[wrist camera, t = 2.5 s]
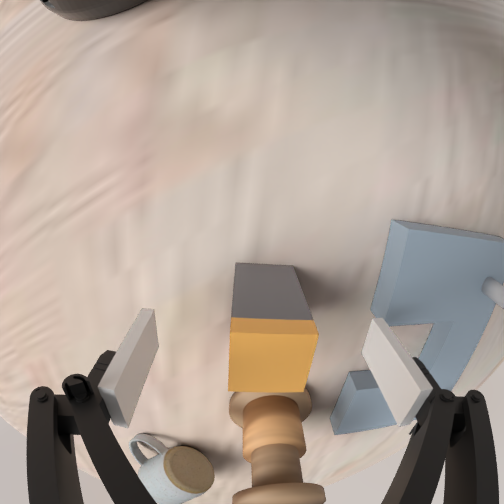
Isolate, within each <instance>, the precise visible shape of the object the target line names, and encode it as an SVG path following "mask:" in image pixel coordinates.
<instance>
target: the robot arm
mask: <svg viewBox="0 0 504 504" xmlns="http://www.w3.org/2000/svg"><path fill="white" fill-rule="evenodd" d="M40 1H41V2H42V4H43V5H44V6H45V7H46V8H47V9H49V10H51V11H52V12H54V13H56V14H58V15H59V16H61V17H63V18H66V19H70V20H92V19H98V18H102V17H106V16H109V15H113V14H116V13H119V12H121V11H124V10H127V9H129V8H132V7H134V6H136V5H139V4H141V3H143V2H145V1H147V0H40ZM158 347H159V344H158V336H157V328H156V320H155V311H154V309H146V308H142V309H141V311H140V313H139V314H138V316H137V318H136V319H135V321H134V323H133V324H132V326H131V328H130V329H129V331H128V333H127V335H126V336H125V338H124V340H123V341H122V343H121V345H120V347H119V348H118V350H117V352H115V351H109V350H107V351H106V352H104V353H103V354H102V355H100V357H99V359H98V360H97V362H96V364H95V365H94V367H93V369H92V370H91V372H90V374H89V375H88V377H86V376H84V375H81V374H73V375H70V376H68V377H67V378H66V379H64V381H63V383H62V388H63V390H64V392H65V394H66V395H54V393H53V391H52V390H51V389H50V388H48V387H44V386H42V387H38V388H36V389H34V390H33V392H32V393H31V395H30V402H29V412H28V426H27V479H28V480H27V481H28V492H29V503H30V504H84V503H83V498H82V493H81V488H80V482H79V477H78V470H77V463H76V456H75V447H74V437H73V435H81V437H82V439H83V442H84V444H85V446H86V449H87V451H88V453H89V455H90V458H91V460H92V462H93V464H94V466H95V468H96V470H97V472H98V474H99V476H100V478H101V480H102V482H103V484H104V486H105V488H106V489H107V491H108V493H109V495H110V497H111V498H112V500H113V502H114V503H115V504H157V503H156V502H155V500H154V499H153V497H152V496H151V495H150V493H149V492H148V490H147V489H146V487H145V486H144V485H143V483H142V482H141V480H140V479H139V477H138V475H137V474H136V472H135V471H134V469H133V468H132V466H131V464H130V463H129V461H128V459H127V458H126V456H125V454H124V452H123V451H122V449H121V447H120V445H119V444H118V442H117V440H116V438H115V436H114V434H113V432H112V430H111V428H110V426H109V424H108V423H109V421H110V418H111V420H112V422H113V424H114V425H117V426H121V427H125V428H129V425H130V422H131V419H132V416H133V414H134V411H135V408H136V405H137V402H138V400H139V397H140V394H141V392H142V389H143V386H144V384H145V381H146V378H147V376H148V373H149V370H150V368H151V365H152V363H153V360H154V358H155V355H156V352H157V350H158ZM361 353H362V355H363V357H364V359H365V361H366V363H367V365H368V367H369V369H370V371H371V372H372V374H373V376H374V378H375V380H376V382H377V384H378V386H379V388H380V390H381V392H382V394H383V396H384V398H385V400H386V402H387V404H388V406H389V408H390V410H391V412H392V414H393V417H394V419H395V421H396V423H397V425H398V427H401V426H405V425H409V424H411V422H412V421H413V419H414V418H415V417H416V419H417V421H418V422H417V423H416V425H415V426H414V427H413V429H412V430H411V432H410V433H409V434H410V435H411V433H412V432H413V433H412V435H411V438H410V441H409V444H408V446H407V449H406V451H405V454H404V456H403V459H402V461H401V464H400V466H399V468H398V471H397V473H396V475H395V477H394V479H393V482H392V484H391V486H390V488H389V490H388V492H387V494H386V496H385V498H384V500H383V501H382V503H381V504H431V502H432V499H433V497H434V494H435V491H436V488H437V485H438V482H439V478H440V475H441V472H442V468H443V465H444V461H445V490H444V503H443V504H499V487H498V473H497V462H496V454H495V447H494V440H493V434H492V429H491V424H490V419H489V415H488V410H487V406H486V401H485V399H484V396H483V395H482V394H481V392H479V391H477V390H470V391H468V393H467V394H466V396H465V397H455V395H454V394H453V393H452V392H451V391H449V390H447V389H441V388H440V386H439V385H438V383H437V382H436V381H435V379H434V378H433V376H432V375H431V374H430V372H429V371H428V369H426V367H425V365H424V364H423V362H422V361H420V360H419V359H418V358H416V357H413V358H412V357H411V356H410V354H409V353H408V351H407V350H406V349H405V347H404V346H403V345H402V343H401V342H400V340H399V339H398V338H397V336H396V335H395V334H394V332H393V331H392V330H391V328H390V327H389V326H388V324H387V323H386V322H385V320H384V319H383V318H372V321H371V324H370V327H369V331H368V334H367V337H366V340H365V343H364V346H363V349H362V352H361Z"/></svg>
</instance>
